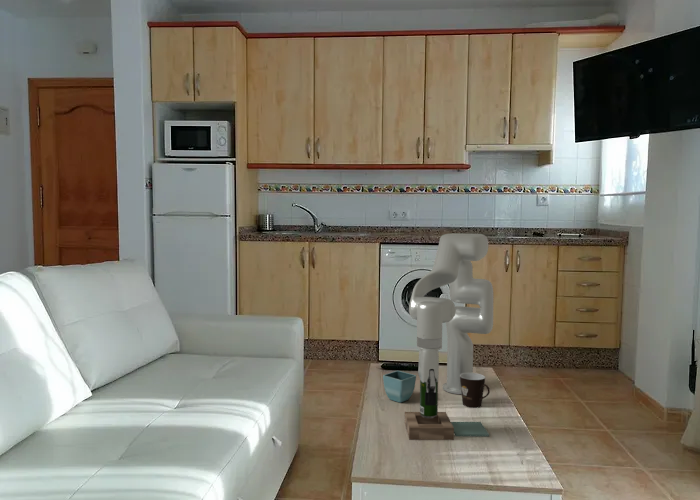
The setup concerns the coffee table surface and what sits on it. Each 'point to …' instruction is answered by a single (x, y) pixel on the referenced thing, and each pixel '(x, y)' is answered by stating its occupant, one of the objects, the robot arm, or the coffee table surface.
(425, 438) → the holder block
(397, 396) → the flower pot
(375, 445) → the coffee table surface
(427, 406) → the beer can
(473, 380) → the coffee mug
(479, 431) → the rubber pad
